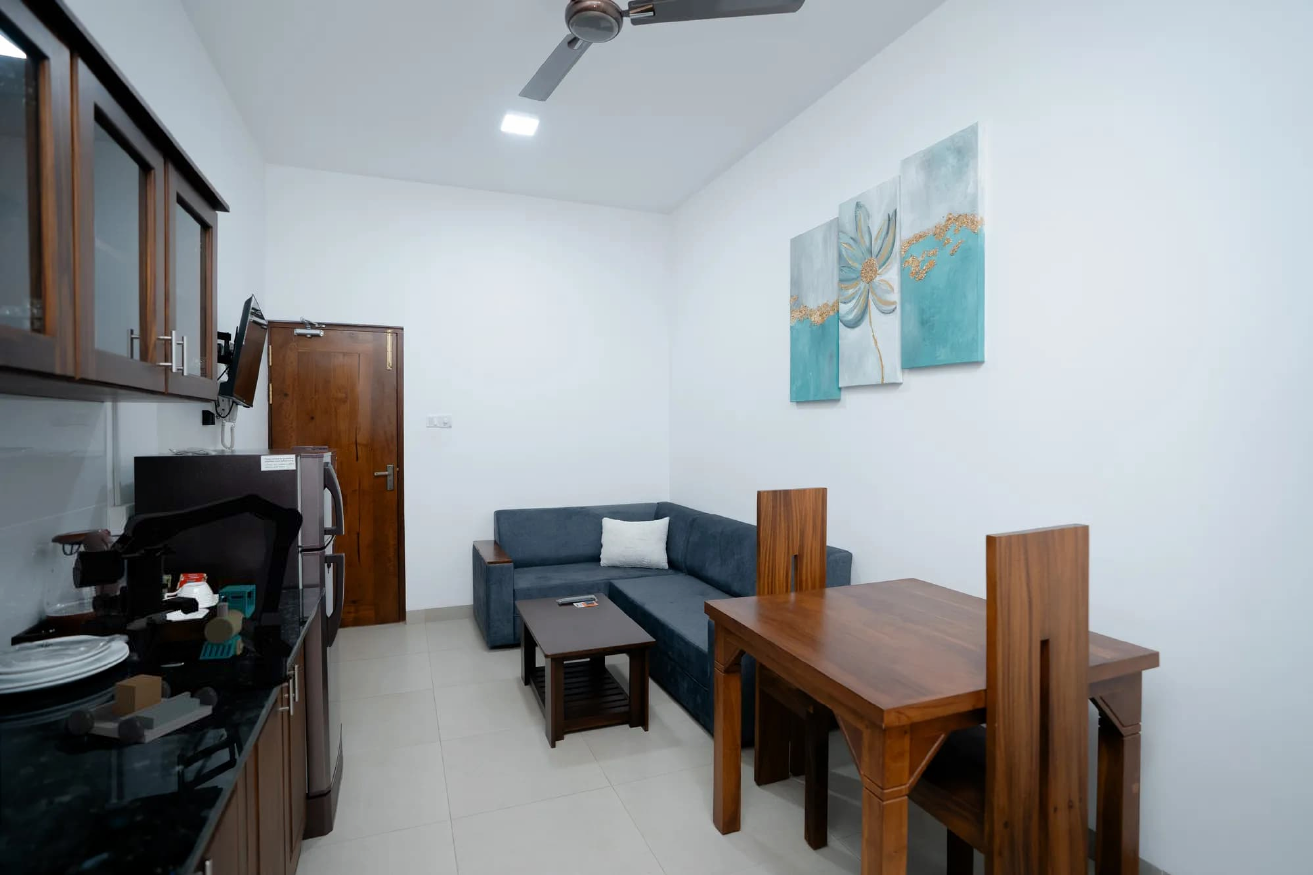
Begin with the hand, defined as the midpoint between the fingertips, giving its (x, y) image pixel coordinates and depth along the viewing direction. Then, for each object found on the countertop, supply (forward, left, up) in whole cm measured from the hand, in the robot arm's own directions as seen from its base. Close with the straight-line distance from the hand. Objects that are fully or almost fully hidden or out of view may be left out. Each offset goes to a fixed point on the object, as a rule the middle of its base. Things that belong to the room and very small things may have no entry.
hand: (143, 659), depth 125 cm
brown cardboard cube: (+1, 0, -10) cm, 10 cm away
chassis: (+1, +2, -11) cm, 12 cm away
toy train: (-35, -18, -12) cm, 41 cm away
